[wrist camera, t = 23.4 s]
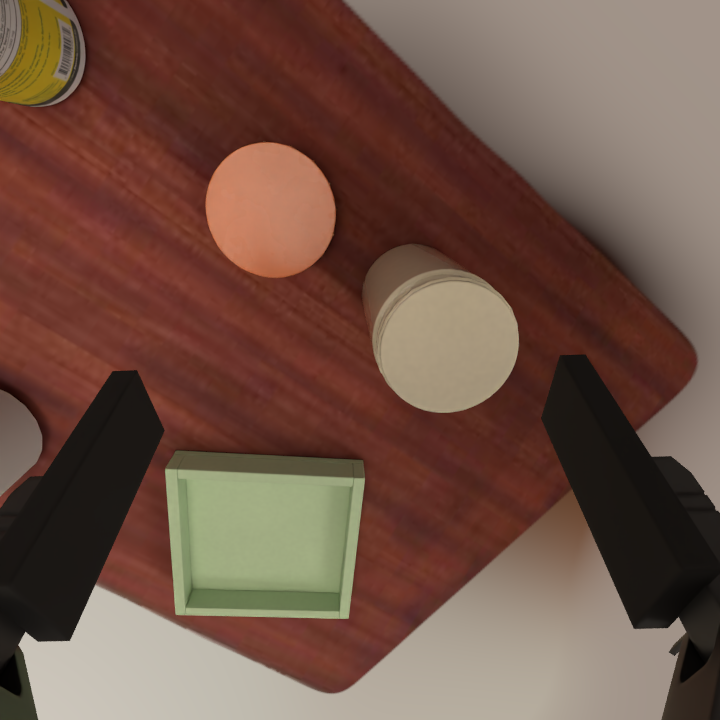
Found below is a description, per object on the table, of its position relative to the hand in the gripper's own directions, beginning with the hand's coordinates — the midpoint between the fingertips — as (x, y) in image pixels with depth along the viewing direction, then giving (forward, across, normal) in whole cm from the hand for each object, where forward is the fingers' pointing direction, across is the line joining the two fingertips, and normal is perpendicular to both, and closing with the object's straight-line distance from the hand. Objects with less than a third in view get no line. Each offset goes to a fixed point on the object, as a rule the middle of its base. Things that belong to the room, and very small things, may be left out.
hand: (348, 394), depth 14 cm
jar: (+15, +4, -5) cm, 16 cm away
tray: (+9, -8, -22) cm, 25 cm away
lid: (+14, -4, +1) cm, 15 cm away
